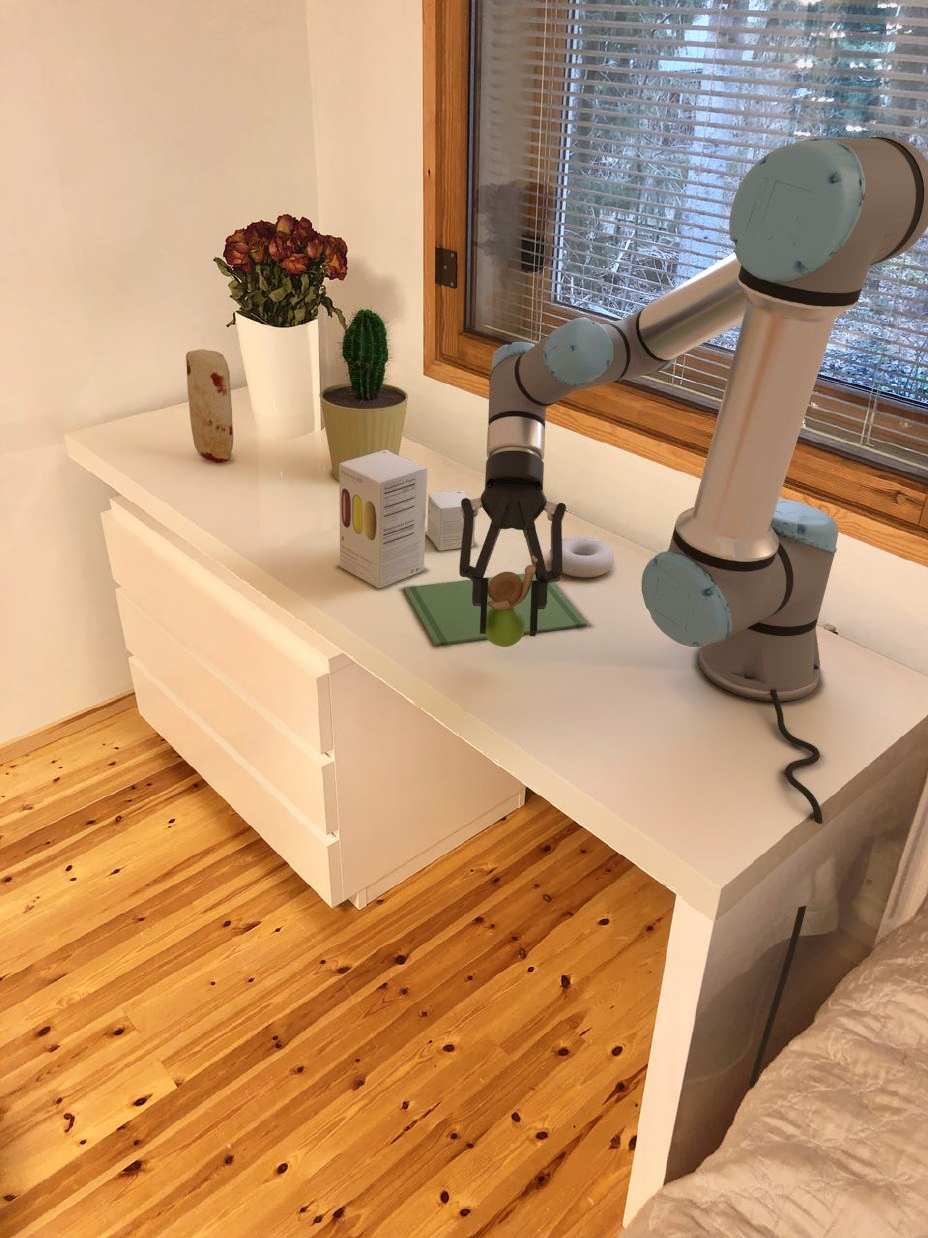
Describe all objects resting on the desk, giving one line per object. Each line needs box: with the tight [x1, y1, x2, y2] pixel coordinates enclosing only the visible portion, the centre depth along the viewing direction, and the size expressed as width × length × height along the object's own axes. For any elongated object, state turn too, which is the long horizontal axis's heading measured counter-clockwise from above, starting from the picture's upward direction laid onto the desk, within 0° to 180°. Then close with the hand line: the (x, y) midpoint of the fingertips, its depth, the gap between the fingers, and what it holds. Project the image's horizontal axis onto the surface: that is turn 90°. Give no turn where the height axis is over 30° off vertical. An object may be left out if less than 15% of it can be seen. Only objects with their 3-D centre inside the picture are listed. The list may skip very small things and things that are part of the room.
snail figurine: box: [485, 556, 537, 648], centre depth 131 cm, size 5×6×12 cm
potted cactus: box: [318, 305, 409, 482], centre depth 181 cm, size 15×15×30 cm
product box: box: [426, 489, 477, 552], centre depth 165 cm, size 6×6×7 cm
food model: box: [185, 348, 234, 464], centre depth 187 cm, size 10×7×20 cm
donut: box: [548, 536, 615, 579], centre depth 160 cm, size 10×3×10 cm
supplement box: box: [339, 450, 428, 589], centre depth 153 cm, size 10×9×17 cm
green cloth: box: [403, 573, 587, 646], centre depth 148 cm, size 16×22×1 cm
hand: (508, 631), depth 129 cm, fingers closed on snail figurine, 6 cm apart
